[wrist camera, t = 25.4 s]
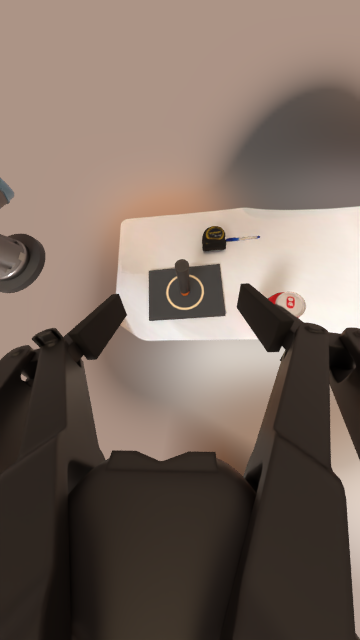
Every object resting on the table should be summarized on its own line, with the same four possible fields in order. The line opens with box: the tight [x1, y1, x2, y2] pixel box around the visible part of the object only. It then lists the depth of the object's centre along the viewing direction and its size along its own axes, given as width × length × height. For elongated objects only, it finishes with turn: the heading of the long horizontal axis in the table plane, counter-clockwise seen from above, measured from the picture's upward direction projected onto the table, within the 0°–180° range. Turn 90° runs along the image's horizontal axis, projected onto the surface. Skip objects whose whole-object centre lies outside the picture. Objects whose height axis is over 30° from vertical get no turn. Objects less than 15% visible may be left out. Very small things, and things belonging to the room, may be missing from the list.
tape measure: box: [202, 226, 226, 251], centre depth 39 cm, size 7×7×4 cm
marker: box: [175, 259, 190, 296], centre depth 32 cm, size 3×3×13 cm
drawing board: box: [149, 264, 225, 321], centre depth 39 cm, size 22×16×1 cm
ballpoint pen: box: [226, 236, 260, 241], centre depth 40 cm, size 10×1×1 cm, turn 94°
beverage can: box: [268, 292, 306, 318], centre depth 30 cm, size 6×6×12 cm
